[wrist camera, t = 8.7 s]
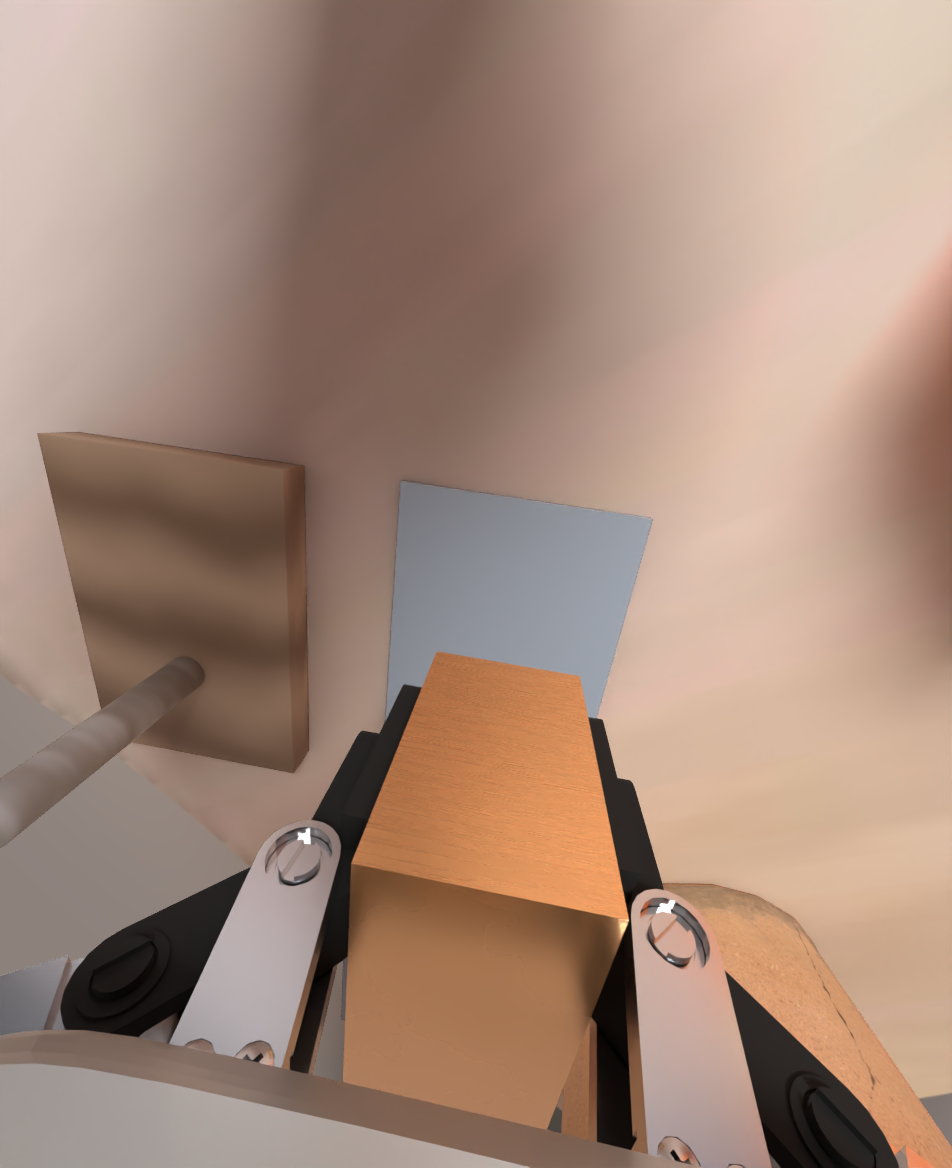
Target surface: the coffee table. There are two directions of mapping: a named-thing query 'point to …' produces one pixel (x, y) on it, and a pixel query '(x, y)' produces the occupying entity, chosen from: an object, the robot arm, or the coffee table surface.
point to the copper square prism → (482, 897)
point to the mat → (510, 584)
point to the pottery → (792, 1017)
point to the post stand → (176, 609)
